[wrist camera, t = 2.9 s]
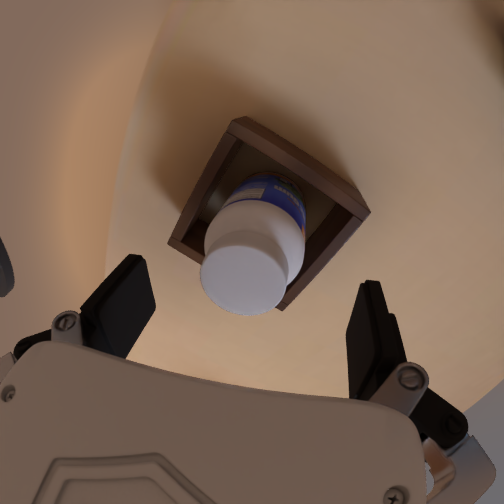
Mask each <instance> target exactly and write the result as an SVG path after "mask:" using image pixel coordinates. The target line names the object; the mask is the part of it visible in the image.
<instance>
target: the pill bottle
mask: <svg viewBox="0 0 504 504" xmlns="http://www.w3.org/2000/svg"><path fill="white" fill-rule="evenodd" d="M305 223H306V206H305V200H304V197H303V195H302V192H301V191H300V189H299V188H298V186H297V185H296V184H295V183H294V182H293V181H292V180H290V179H289V178H287V177H285V176H283V175H281V174H278V173H272V172H263V173H257V174H254V175H252V176H250V177H248V178H246V179H245V180H244V181H242V182H241V183H240V184H239V185H238V186H237V188H236V189H235V190H234V191H233V193H232V194H231V196H230V197H229V198H228V200H227V201H226V202H225V204H224V205H223V206H222V208H221V209H220V211H219V212H218V213H217V215H216V216H215V217H214V219H213V220H212V222H211V224H210V225H209V227H208V229H207V232H206V236H205V241H204V250H205V258H204V260H203V262H202V265H201V269H200V279H201V284H202V286H203V289H204V291H205V292H206V294H207V295H208V297H209V298H210V299H211V300H212V301H213V302H214V303H215V304H217V305H218V306H219V307H221V308H223V309H225V310H226V311H229V312H231V313H235V314H239V315H249V316H250V315H258V314H262V313H265V312H268V311H269V310H271V309H273V308H274V307H275V306H276V305H278V304H279V302H280V301H281V300H282V298H283V296H284V294H285V291H286V286H287V285H288V284H289V283H291V281H293V279H294V278H295V277H296V276H297V274H298V273H299V271H300V269H301V267H302V264H303V260H304V252H305Z"/></svg>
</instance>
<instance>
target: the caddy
mask: <svg viewBox="0 0 504 504" xmlns="http://www.w3.org/2000/svg"><path fill="white" fill-rule="evenodd" d="M243 142H245V143H247V144H248V145H250V146H252V147H253V148H255V149H257V150H258V151H260V152H262V153H263V154H265V155H266V156H268V157H270V158H271V159H273V160H274V161H276V162H278V163H279V164H281V165H282V166H284V167H285V168H287V169H289V170H290V171H292V172H293V173H295V174H296V175H298V176H299V177H301V178H302V179H304V180H305V181H307V182H308V183H310V184H311V185H313V186H314V187H316V188H317V189H318V190H320V191H321V192H323V193H324V194H326V195H327V196H329V197H330V198H331V199H333V200H334V201H336V202H337V205H336V206H335V207H334V209H333V210H332V211H331V212H330V214H329V215H328V216H327V217H326V219H325V220H324V221H323V222H322V224H321V225H320V226H319V227H318V229H317V230H316V231H315V232H314V234H313V235H312V236H311V237H310V238H309V240H308V241H307V242H306V243H305V252H304V260H303V264H302V267H301V269H300V271H299V273H298V274H297V276H296V277H295V278H294V279H293V281H291V283H289V284H288V285H287V286H286V291H285V294H284V296H283V298H282V300H281V301H280V302H279V304H278V305H276V306H275V308H277V309H279V310H281V311H283V310H284V309H285V308H286V307H287V306H288V305H289V304H290V303H291V302H292V301H293V300H294V299H295V298H296V297H297V296H298V295H299V294H300V293H301V292H302V290H303V289H304V288H305V287H306V286H307V285H308V284H309V283H310V282H311V281H312V280H313V279H314V278H315V276H316V275H317V274H318V273H319V272H320V271H321V270H322V269H323V268H324V267H325V265H326V264H327V263H328V262H329V261H330V260H331V259H332V258H333V256H334V255H335V254H336V253H337V252H338V251H339V250H340V249H341V247H342V246H343V245H344V244H345V243H346V242H347V241H348V239H349V238H350V237H351V236H352V235H353V234H354V232H355V231H356V230H357V229H358V228H359V226H360V225H361V224H362V223H363V221H364V220H365V219H366V218H367V217H368V216H369V214H370V213H371V211H370V209H369V208H368V206H367V204H366V202H365V200H364V199H363V197H362V195H361V193H360V192H359V191H358V190H357V189H356V188H354V187H353V186H352V185H350V184H349V183H348V182H346V181H345V180H344V179H342V178H341V177H340V176H338V175H337V174H335V173H334V172H333V171H331V170H330V169H328V168H327V167H326V166H324V165H323V164H321V163H320V162H318V161H317V160H315V159H314V158H313V157H311V156H310V155H308V154H307V153H305V152H304V151H302V150H301V149H299V148H298V147H296V146H294V145H293V144H291V143H290V142H288V141H287V140H285V139H284V138H282V137H280V136H279V135H277V134H276V133H274V132H272V131H271V130H269V129H267V128H266V127H264V126H262V125H261V124H259V123H257V122H256V121H254V120H252V119H250V118H249V117H247V116H244V117H241V118H238V119H234V120H232V121H231V123H230V125H229V126H228V128H227V130H226V132H225V133H224V135H223V137H222V138H221V140H220V142H219V144H218V145H217V147H216V149H215V151H214V153H213V154H212V156H211V158H210V160H209V162H208V163H207V165H206V167H205V169H204V171H203V173H202V175H201V177H200V178H199V180H198V182H197V184H196V186H195V188H194V190H193V192H192V194H191V196H190V198H189V200H188V202H187V204H186V206H185V208H184V210H183V212H182V214H181V216H180V218H179V220H178V222H177V224H176V226H175V228H174V230H173V232H172V234H171V237H170V239H169V241H168V243H167V244H168V245H169V246H171V247H173V248H174V249H176V250H177V251H179V252H181V253H182V254H184V255H186V256H187V257H189V258H191V259H192V260H194V261H196V262H197V263H199V264H201V265H202V262H203V260H204V258H205V250H204V241H205V236H206V232H207V229H208V227H209V224H207V223H206V222H204V221H202V220H201V219H199V218H200V216H201V214H202V212H203V210H204V208H205V207H206V205H207V203H208V201H209V199H210V198H211V196H212V194H213V192H214V190H215V189H216V187H217V185H218V183H219V182H220V180H221V178H222V176H223V175H224V173H225V171H226V170H227V168H228V166H229V164H230V163H231V161H232V159H233V158H234V156H235V154H236V153H237V151H238V149H239V148H240V146H241V144H242V143H243Z"/></svg>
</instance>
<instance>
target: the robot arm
mask: <svg viewBox="0 0 504 504" xmlns="http://www.w3.org/2000/svg"><path fill="white" fill-rule="evenodd" d="M155 308H156V303H155V299H154V295H153V291H152V287H151V282H150V278H149V273H148V269H147V264H146V260H145V259H143V257H142V256H141V255H136V254H129V255H128V256H127V257H126V258H125V259H124V260H123V261H122V262H121V263H120V264H119V265H118V266H117V267H116V268H115V269H114V270H113V271H112V273H111V274H110V275H109V276H108V277H107V278H106V279H105V280H104V281H103V282H102V283H101V285H100V286H99V287H98V288H97V289H96V290H95V291H94V292H93V293H92V295H91V296H90V297H89V298H88V299H87V300H86V302H85V303H84V304H83V305H82V306H81V307H80V309H81V313H80V314H78V313H77V312H75V311H65V312H62V313H60V314H59V315H57V316H56V317H55V319H54V320H53V322H52V329H49V330H46V331H44V332H41V333H38V334H35V335H32V336H29V337H26V338H24V339H22V340H20V341H19V342H18V343H17V344H16V346H15V348H14V353H13V354H12V353H11V352H10V353H8V354H6V355H5V356H3V357H2V358H0V504H474V503H475V502H476V501H477V500H478V499H479V498H480V497H481V496H482V495H483V494H484V493H485V492H486V491H487V489H488V488H489V487H490V486H491V485H492V483H493V482H494V480H495V477H496V469H495V466H494V464H493V463H492V461H491V460H490V458H489V457H488V456H487V454H486V453H485V451H484V450H483V448H482V447H481V446H480V444H479V443H478V441H477V440H476V439H475V437H474V436H473V435H472V436H471V437H470V436H469V434H468V433H467V432H468V422H467V419H466V417H465V416H464V415H463V414H462V413H461V412H460V411H459V410H458V409H456V408H455V407H454V406H452V405H451V404H450V403H448V402H447V401H445V400H444V399H443V398H441V397H440V396H439V395H437V394H436V393H435V392H433V391H432V390H431V389H429V388H428V384H429V377H428V374H427V372H426V371H425V369H424V368H422V367H421V366H420V365H418V364H416V363H413V362H407V359H406V355H405V350H404V346H403V342H402V339H401V335H400V331H399V327H398V324H397V320H396V317H395V315H394V314H393V313H389V312H388V308H387V305H386V301H385V298H384V294H383V291H382V288H381V284H380V282H379V281H373V280H366V281H365V283H361V284H360V287H359V290H358V294H357V297H356V301H355V304H354V308H353V311H352V314H351V317H350V321H349V324H348V327H347V330H346V346H347V361H348V379H349V399H348V398H338V397H326V396H315V395H304V394H295V393H286V392H278V391H270V390H263V389H256V388H249V387H243V386H237V385H231V384H226V383H220V382H215V381H210V380H205V379H200V378H196V377H191V376H187V375H183V374H178V373H174V372H170V371H166V370H162V369H158V368H155V367H151V366H147V365H144V364H140V363H137V362H133V361H130V360H126V357H127V355H128V354H129V352H130V350H131V349H132V347H133V345H134V344H135V342H136V340H137V339H138V337H139V336H140V334H141V332H142V331H143V329H144V327H145V326H146V324H147V323H148V321H149V319H150V318H151V316H152V315H153V313H154V311H155ZM425 462H427V463H428V465H429V466H430V468H431V469H430V470H429V471H430V472H431V474H432V476H433V478H434V487H433V489H432V491H431V492H430V493H429V494H428V495H427V496H426V471H425ZM388 489H389V490H388Z"/></svg>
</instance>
